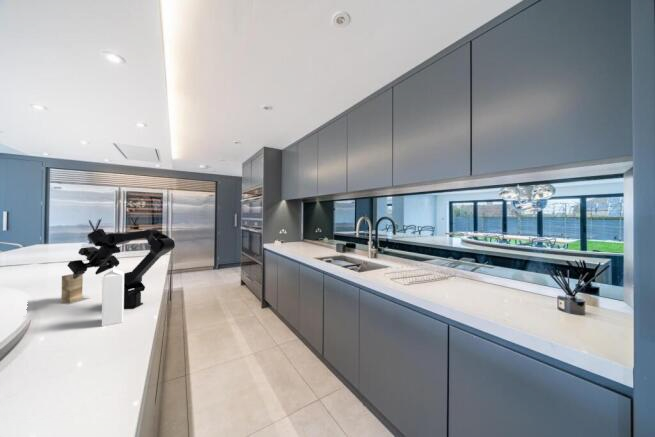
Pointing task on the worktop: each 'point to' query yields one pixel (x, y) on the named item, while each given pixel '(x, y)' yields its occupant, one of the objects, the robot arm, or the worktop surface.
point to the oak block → (71, 288)
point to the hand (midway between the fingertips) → (85, 275)
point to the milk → (112, 297)
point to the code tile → (71, 302)
